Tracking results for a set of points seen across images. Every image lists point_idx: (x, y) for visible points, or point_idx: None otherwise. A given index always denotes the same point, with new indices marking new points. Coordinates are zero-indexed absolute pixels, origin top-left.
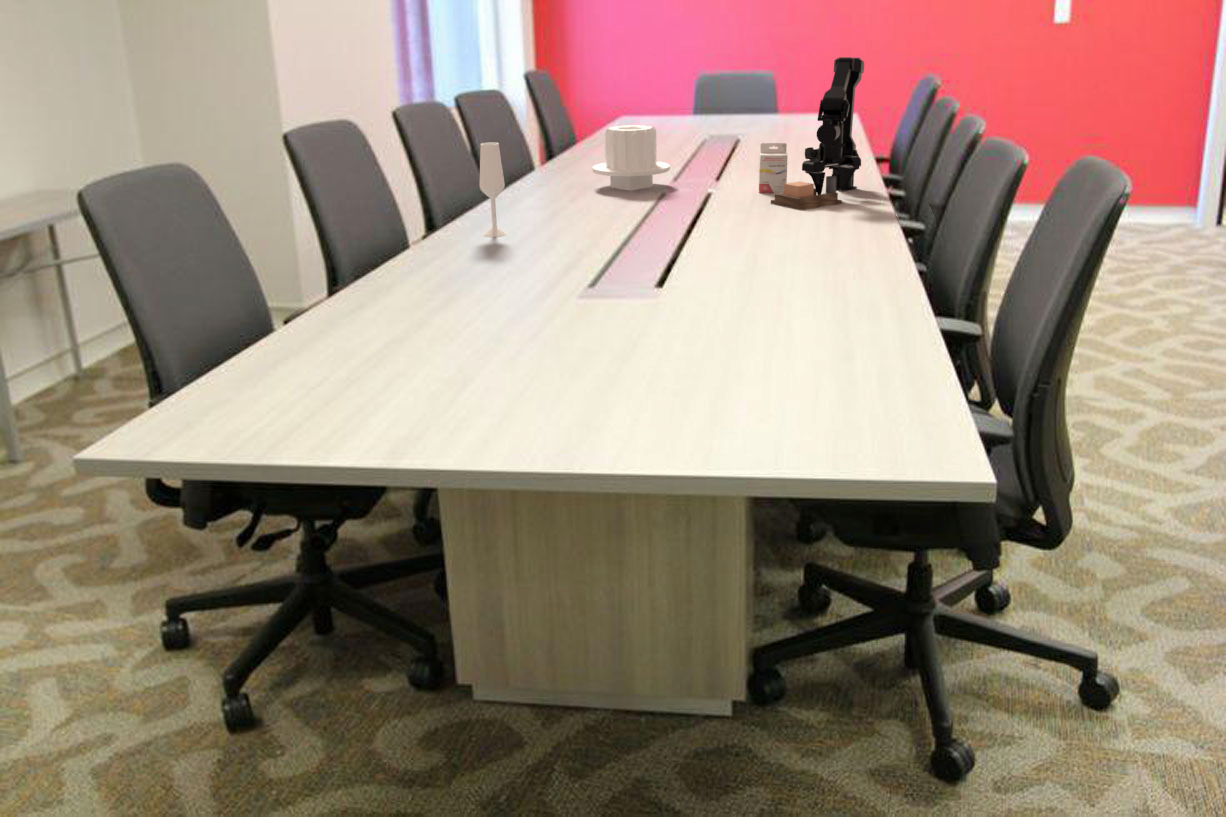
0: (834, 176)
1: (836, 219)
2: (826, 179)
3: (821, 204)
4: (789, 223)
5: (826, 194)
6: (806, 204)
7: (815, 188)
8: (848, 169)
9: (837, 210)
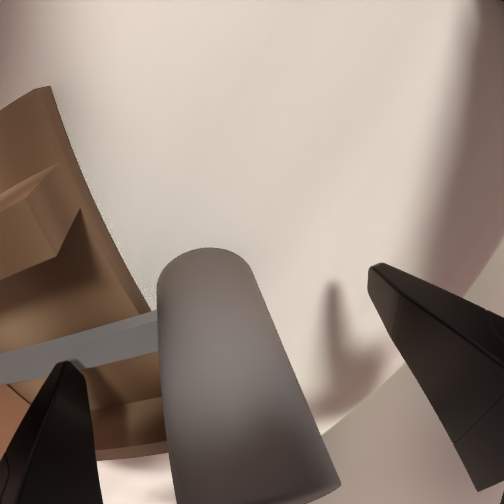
0: (322, 492)
1: (107, 493)
2: (174, 489)
3: None
4: None
5: (112, 459)
6: None
7: (42, 230)
8: (491, 475)
9: (136, 461)
